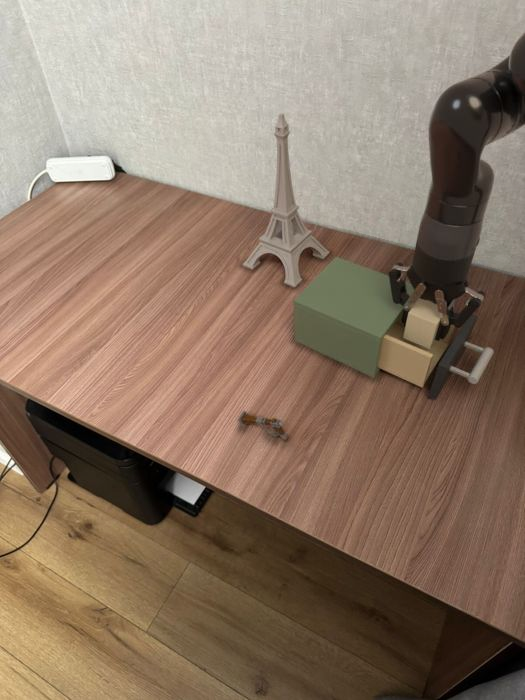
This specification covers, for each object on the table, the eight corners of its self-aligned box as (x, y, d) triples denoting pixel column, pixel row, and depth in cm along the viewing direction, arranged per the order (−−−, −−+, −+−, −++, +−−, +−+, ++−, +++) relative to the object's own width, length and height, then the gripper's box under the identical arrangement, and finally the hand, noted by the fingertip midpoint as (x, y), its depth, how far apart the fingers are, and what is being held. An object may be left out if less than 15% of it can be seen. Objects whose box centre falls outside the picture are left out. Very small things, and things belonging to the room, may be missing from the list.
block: (441, 331, 77) (449, 306, 73) (429, 349, 75) (437, 324, 71) (414, 321, 79) (420, 295, 75) (402, 338, 77) (408, 312, 73)
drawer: (491, 359, 80) (506, 326, 74) (463, 412, 73) (476, 380, 68) (386, 317, 88) (392, 284, 82) (352, 361, 82) (356, 328, 76)
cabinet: (409, 328, 87) (419, 286, 80) (374, 378, 80) (380, 337, 73) (333, 297, 94) (335, 256, 87) (294, 341, 87) (293, 300, 80)
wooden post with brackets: (289, 445, 72) (277, 424, 69) (249, 437, 77) (236, 418, 74) (295, 435, 73) (283, 415, 70) (255, 428, 78) (242, 409, 75)
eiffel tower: (242, 265, 103) (225, 121, 80) (278, 234, 109) (272, 93, 87) (294, 287, 97) (291, 138, 74) (329, 252, 103) (336, 107, 81)
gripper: (384, 238, 65) (371, 328, 77) (491, 274, 59) (458, 365, 71) (408, 211, 69) (392, 301, 81) (511, 242, 62) (477, 334, 75)
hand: (423, 330), depth 76 cm, fingers closed on block, 4 cm apart
